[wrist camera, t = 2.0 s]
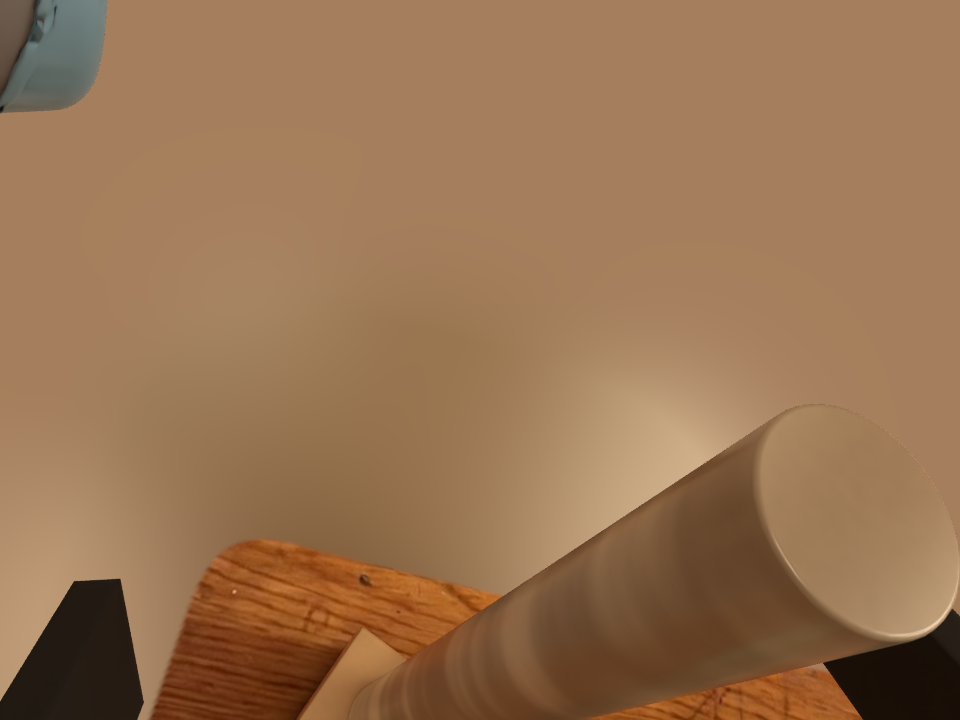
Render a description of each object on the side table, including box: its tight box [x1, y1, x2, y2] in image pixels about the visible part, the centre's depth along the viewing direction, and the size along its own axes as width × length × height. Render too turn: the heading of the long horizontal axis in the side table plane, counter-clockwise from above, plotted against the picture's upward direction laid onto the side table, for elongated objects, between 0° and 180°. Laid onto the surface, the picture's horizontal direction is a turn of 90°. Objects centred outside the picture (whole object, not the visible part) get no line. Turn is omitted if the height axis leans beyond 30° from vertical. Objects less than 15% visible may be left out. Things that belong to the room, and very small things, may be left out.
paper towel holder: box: [296, 404, 960, 720], centre depth 22 cm, size 6×5×30 cm
